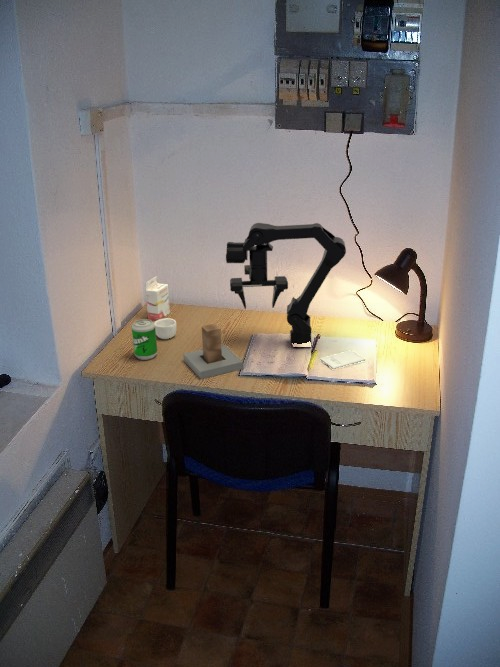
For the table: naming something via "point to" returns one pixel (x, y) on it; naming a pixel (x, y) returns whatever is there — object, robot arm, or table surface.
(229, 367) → the socket base
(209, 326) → the walnut pillar
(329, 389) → the table surface
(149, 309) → the milk carton
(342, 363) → the external hard drive
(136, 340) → the soda can
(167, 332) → the teacup
